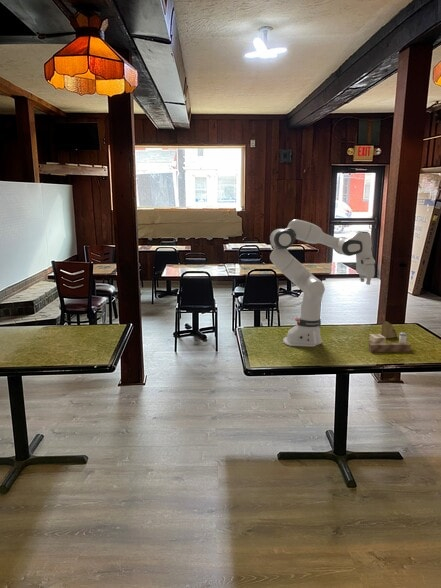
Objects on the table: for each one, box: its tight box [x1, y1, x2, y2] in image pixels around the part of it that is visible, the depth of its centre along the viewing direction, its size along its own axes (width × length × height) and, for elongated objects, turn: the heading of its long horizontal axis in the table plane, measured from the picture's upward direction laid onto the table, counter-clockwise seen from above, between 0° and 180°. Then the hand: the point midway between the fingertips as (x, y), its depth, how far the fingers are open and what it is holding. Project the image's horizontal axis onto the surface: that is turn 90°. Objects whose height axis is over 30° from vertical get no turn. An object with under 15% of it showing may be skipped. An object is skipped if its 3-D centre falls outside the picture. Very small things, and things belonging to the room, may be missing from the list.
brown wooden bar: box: [368, 342, 412, 353], centre depth 238 cm, size 22×3×4 cm, turn 92°
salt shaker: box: [398, 331, 408, 343], centre depth 244 cm, size 4×4×8 cm
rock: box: [380, 320, 398, 340], centre depth 261 cm, size 11×9×10 cm
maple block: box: [369, 333, 387, 343], centre depth 250 cm, size 6×8×5 cm
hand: (365, 283), depth 250 cm, fingers open, 8 cm apart
